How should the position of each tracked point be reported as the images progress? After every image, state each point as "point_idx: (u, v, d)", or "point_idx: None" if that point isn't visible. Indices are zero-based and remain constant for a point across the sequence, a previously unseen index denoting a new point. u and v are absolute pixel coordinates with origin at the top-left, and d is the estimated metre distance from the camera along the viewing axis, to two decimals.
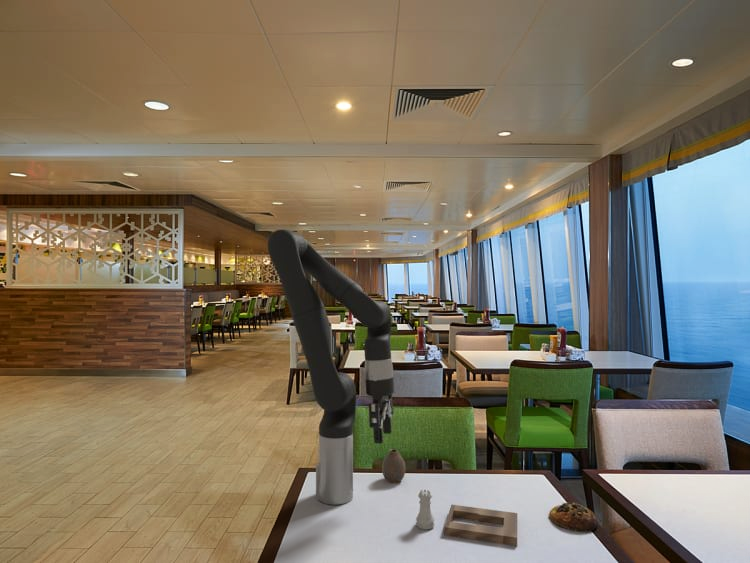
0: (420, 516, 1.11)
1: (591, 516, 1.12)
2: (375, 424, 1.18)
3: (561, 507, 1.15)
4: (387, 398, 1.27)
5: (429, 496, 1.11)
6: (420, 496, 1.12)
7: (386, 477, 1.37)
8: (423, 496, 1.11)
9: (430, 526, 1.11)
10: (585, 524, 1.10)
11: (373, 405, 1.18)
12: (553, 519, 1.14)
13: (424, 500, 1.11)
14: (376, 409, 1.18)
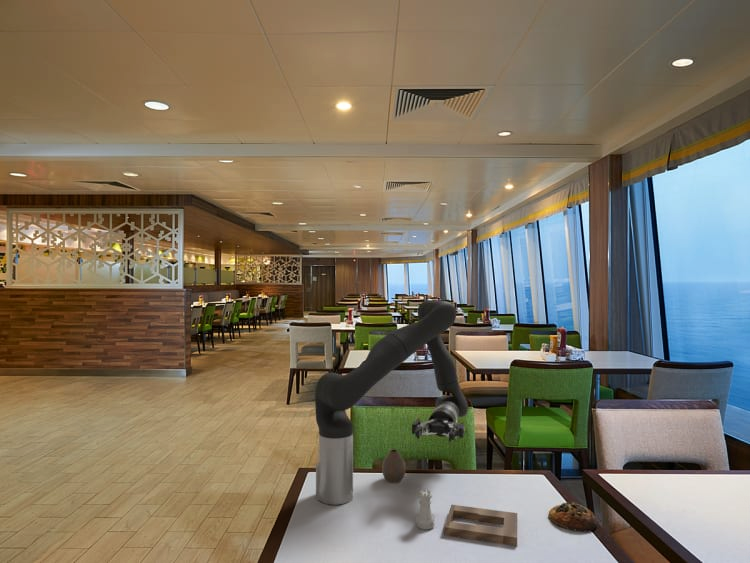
0: (420, 516, 1.11)
1: (590, 516, 1.12)
2: None
3: (560, 507, 1.15)
4: None
5: (429, 496, 1.11)
6: (420, 496, 1.12)
7: (386, 477, 1.37)
8: (423, 496, 1.11)
9: (430, 526, 1.11)
10: (585, 523, 1.10)
11: None
12: (552, 519, 1.14)
13: (424, 500, 1.11)
14: (464, 431, 1.31)
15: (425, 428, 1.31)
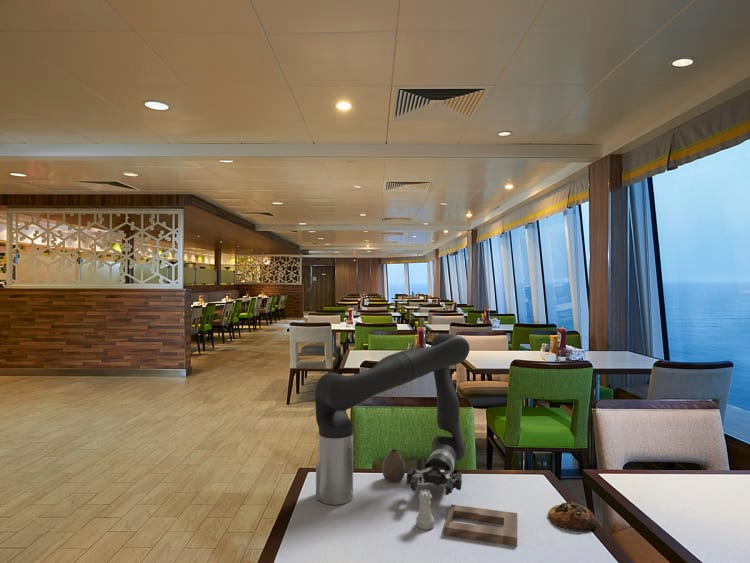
0: (420, 516, 1.11)
1: (590, 516, 1.12)
2: None
3: (560, 507, 1.15)
4: None
5: (429, 496, 1.11)
6: (420, 496, 1.12)
7: (386, 477, 1.37)
8: (423, 496, 1.11)
9: (430, 526, 1.11)
10: (584, 523, 1.10)
11: None
12: (552, 519, 1.14)
13: (424, 500, 1.11)
14: (461, 481, 1.25)
15: (421, 478, 1.25)
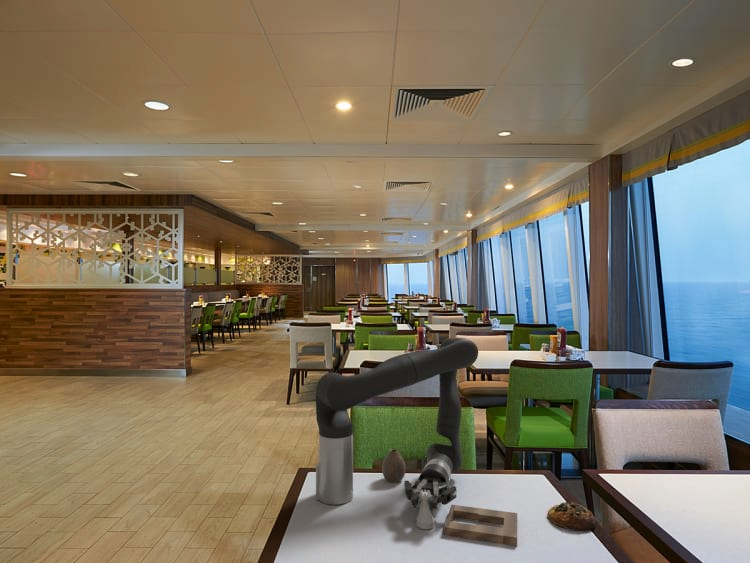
0: (420, 516, 1.11)
1: (589, 516, 1.12)
2: (446, 500, 1.13)
3: (559, 507, 1.15)
4: None
5: (429, 496, 1.11)
6: (420, 496, 1.12)
7: (386, 477, 1.37)
8: (423, 496, 1.11)
9: (430, 526, 1.11)
10: (584, 523, 1.10)
11: (456, 492, 1.17)
12: (551, 519, 1.14)
13: (424, 500, 1.11)
14: (454, 497, 1.16)
15: None
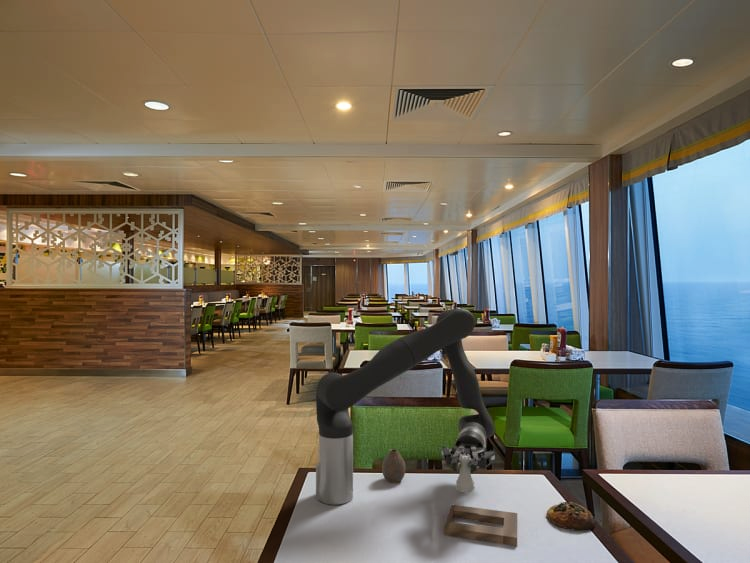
0: (460, 479, 1.12)
1: (588, 515, 1.12)
2: None
3: (558, 506, 1.15)
4: None
5: (469, 459, 1.12)
6: (460, 459, 1.12)
7: (386, 477, 1.37)
8: (463, 459, 1.12)
9: (471, 489, 1.11)
10: (582, 523, 1.10)
11: (494, 456, 1.17)
12: (550, 518, 1.14)
13: (464, 463, 1.12)
14: (493, 461, 1.16)
15: None
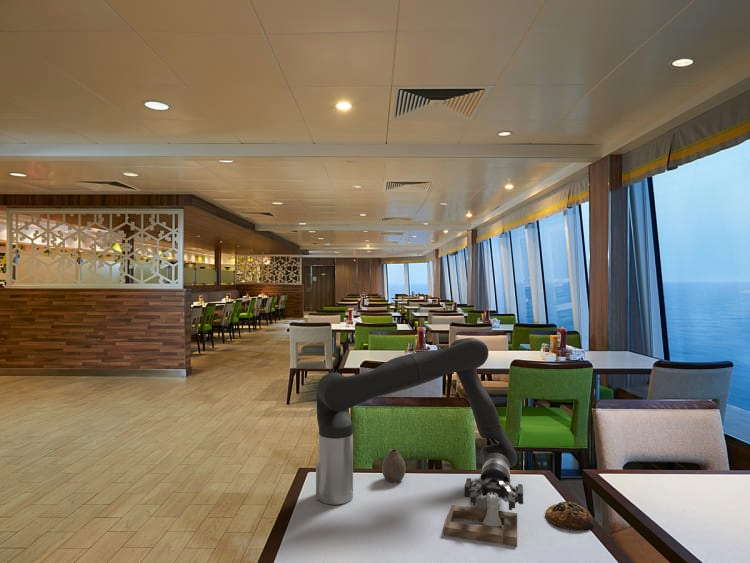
0: (488, 519, 1.10)
1: (587, 515, 1.12)
2: None
3: (557, 506, 1.15)
4: None
5: (497, 499, 1.10)
6: (488, 499, 1.10)
7: (386, 477, 1.37)
8: (491, 499, 1.10)
9: None
10: (581, 523, 1.10)
11: None
12: (549, 518, 1.14)
13: (492, 503, 1.10)
14: None
15: (479, 491, 1.15)
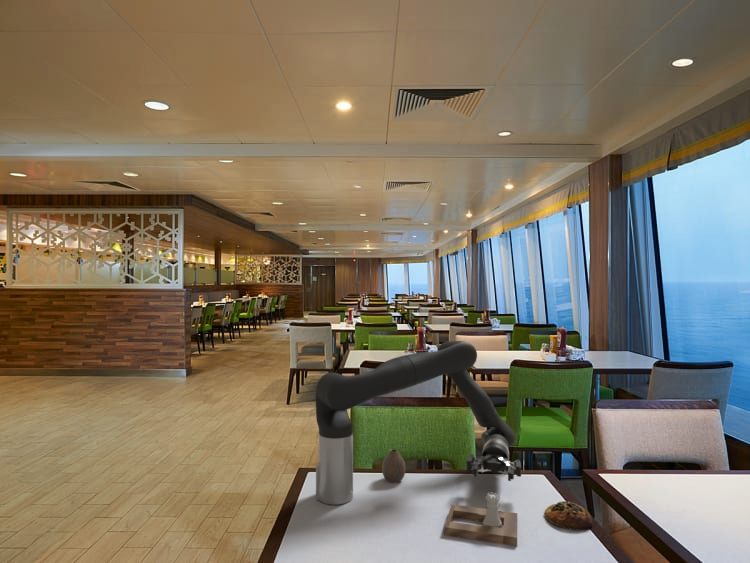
0: (488, 519, 1.10)
1: (586, 515, 1.12)
2: None
3: (556, 506, 1.16)
4: None
5: (497, 499, 1.10)
6: (488, 499, 1.10)
7: (386, 477, 1.37)
8: (491, 499, 1.10)
9: None
10: (580, 522, 1.10)
11: None
12: (548, 518, 1.14)
13: (492, 503, 1.10)
14: None
15: (480, 465, 1.28)
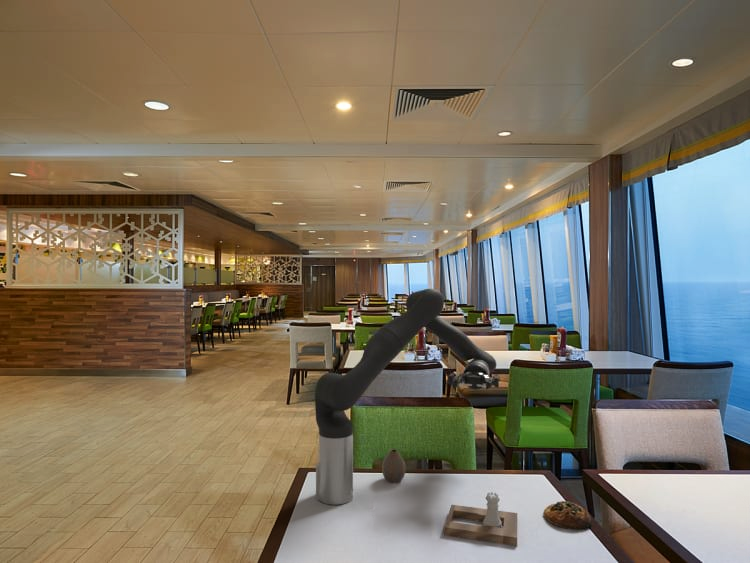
0: (488, 519, 1.10)
1: (585, 515, 1.12)
2: None
3: (555, 506, 1.16)
4: None
5: (497, 499, 1.10)
6: (488, 499, 1.10)
7: (386, 477, 1.37)
8: (491, 499, 1.10)
9: None
10: (579, 522, 1.10)
11: None
12: (547, 517, 1.14)
13: (492, 503, 1.10)
14: None
15: (461, 379, 1.37)
